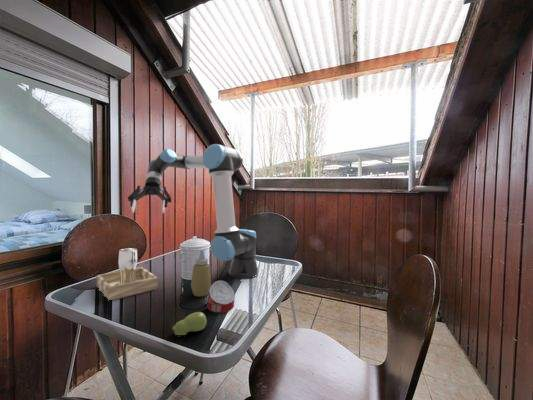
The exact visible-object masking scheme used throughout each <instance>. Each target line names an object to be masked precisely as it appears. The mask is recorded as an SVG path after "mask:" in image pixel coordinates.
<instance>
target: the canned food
mask: <svg viewBox="0 0 533 400" xmlns="http://www.w3.org/2000/svg"><path fill="white" fill-rule="evenodd" d="M208 295H209V296H208V297H207V301H206V302H207V305H206V306H207V307H206V308H207V310H208V311H210V312H213V313H227V312H230V311H231V309H232V308H233V307H234V308H235V298H236V297H235V296H236V295H235V291H234V289H233V288H232V287H231V285H229V283H228V282H227V281H225V280H220V279H219V280H217V281H214V282H213V283H211V287H210V289H209V292H208ZM234 308H233V309H234ZM233 309H232V310H233ZM229 310H230V311H229Z"/></svg>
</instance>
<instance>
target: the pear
mask: <svg viewBox="0 0 533 400" xmlns="http://www.w3.org/2000/svg"><path fill="white" fill-rule="evenodd" d="M207 322H208V321H207V316H206V314H205V313H204V312H201V311H195V312H193V313H190V314H188V315H187V316H185V317H184V319H181V320H179V321H177V322H176V323H175V324H174V325H172V328H171V329H172V332H173V331H174V332H173V333H174V335H175V336H176V335H185V336H186V335H187V334H188V333H190V332H200V331H202V330H203V329H205V328H206V326H207Z"/></svg>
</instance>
